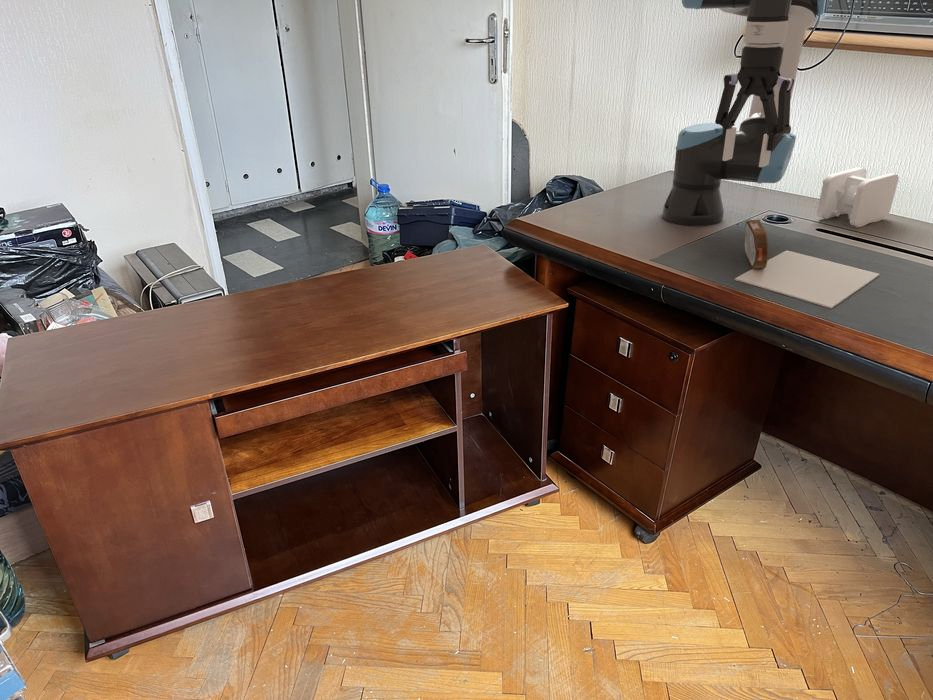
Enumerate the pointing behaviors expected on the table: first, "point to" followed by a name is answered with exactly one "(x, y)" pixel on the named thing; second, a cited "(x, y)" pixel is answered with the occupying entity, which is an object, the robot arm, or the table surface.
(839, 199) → the cable organizer
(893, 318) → the table surface
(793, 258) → the mat
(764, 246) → the tin
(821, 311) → the table surface
